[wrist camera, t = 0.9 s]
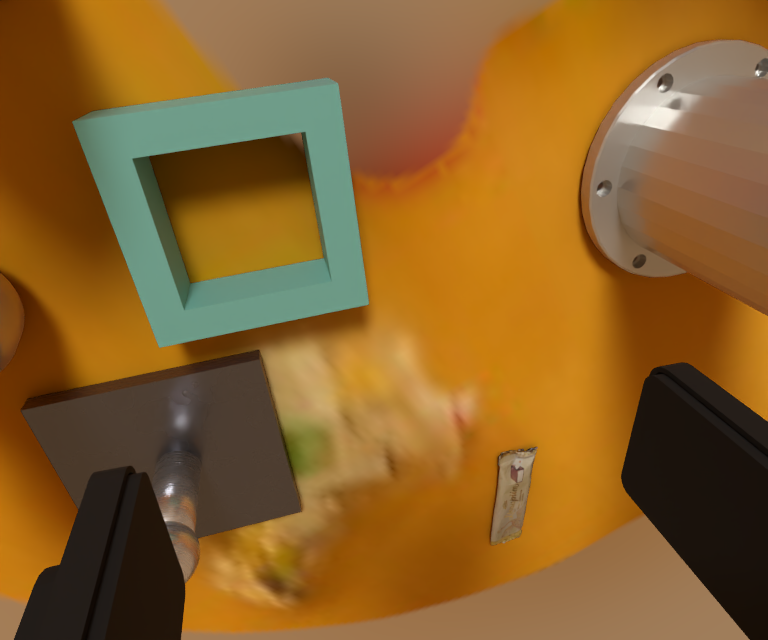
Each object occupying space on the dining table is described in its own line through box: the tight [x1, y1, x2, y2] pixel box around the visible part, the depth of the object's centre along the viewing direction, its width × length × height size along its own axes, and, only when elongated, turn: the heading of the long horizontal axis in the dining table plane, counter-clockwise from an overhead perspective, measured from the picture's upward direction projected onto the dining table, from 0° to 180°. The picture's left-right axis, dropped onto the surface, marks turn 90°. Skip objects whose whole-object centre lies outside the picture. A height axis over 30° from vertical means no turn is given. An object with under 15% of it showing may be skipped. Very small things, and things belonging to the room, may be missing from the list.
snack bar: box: [491, 447, 538, 545], centre depth 40 cm, size 10×2×3 cm
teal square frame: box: [72, 78, 369, 348], centre depth 24 cm, size 10×10×3 cm
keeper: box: [21, 350, 301, 583], centre depth 27 cm, size 12×12×9 cm
